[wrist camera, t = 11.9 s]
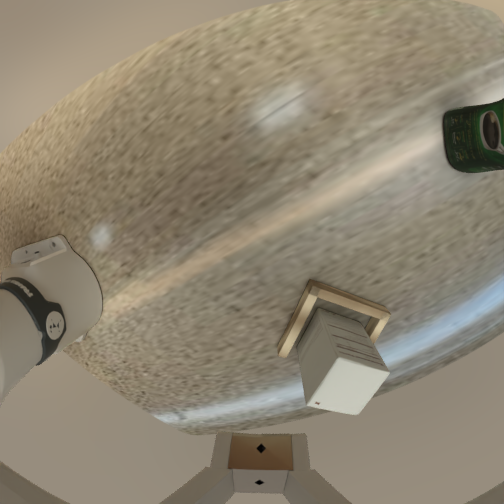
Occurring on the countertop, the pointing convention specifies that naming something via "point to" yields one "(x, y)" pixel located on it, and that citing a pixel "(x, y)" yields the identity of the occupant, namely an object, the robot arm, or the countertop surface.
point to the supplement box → (339, 364)
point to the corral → (337, 297)
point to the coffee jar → (475, 137)
